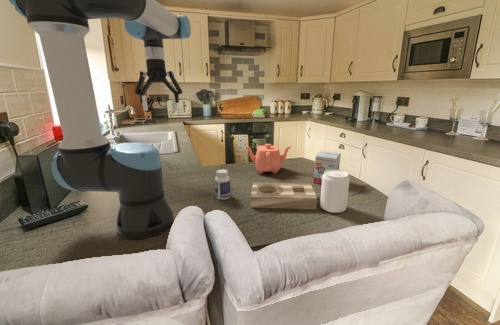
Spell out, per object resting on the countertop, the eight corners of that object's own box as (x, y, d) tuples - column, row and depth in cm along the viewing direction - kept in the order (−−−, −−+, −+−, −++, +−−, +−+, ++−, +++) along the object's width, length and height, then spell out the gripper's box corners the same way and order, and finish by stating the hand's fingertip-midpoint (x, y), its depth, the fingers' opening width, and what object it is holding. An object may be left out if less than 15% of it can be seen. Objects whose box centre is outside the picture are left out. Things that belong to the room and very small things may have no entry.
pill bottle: (233, 195, 93) (232, 169, 90) (226, 201, 88) (225, 174, 85) (220, 192, 95) (218, 168, 92) (212, 198, 90) (211, 172, 87)
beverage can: (326, 200, 88) (328, 167, 84) (349, 207, 83) (353, 172, 79) (315, 209, 82) (318, 174, 78) (340, 217, 77) (344, 179, 73)
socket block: (316, 209, 82) (317, 197, 80) (250, 207, 83) (250, 196, 82) (310, 193, 93) (310, 183, 92) (252, 192, 94) (252, 182, 93)
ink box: (312, 183, 103) (314, 155, 100) (317, 176, 111) (319, 150, 107) (334, 186, 99) (337, 157, 96) (338, 179, 107) (341, 152, 103)
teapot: (291, 170, 118) (292, 144, 114) (265, 179, 108) (265, 150, 105) (269, 163, 129) (269, 139, 126) (243, 170, 119) (243, 144, 116)
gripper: (187, 59, 109) (190, 109, 115) (130, 60, 111) (137, 109, 117) (181, 57, 102) (185, 111, 108) (121, 58, 104) (129, 111, 110)
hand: (160, 110), depth 113 cm, fingers open, 13 cm apart
